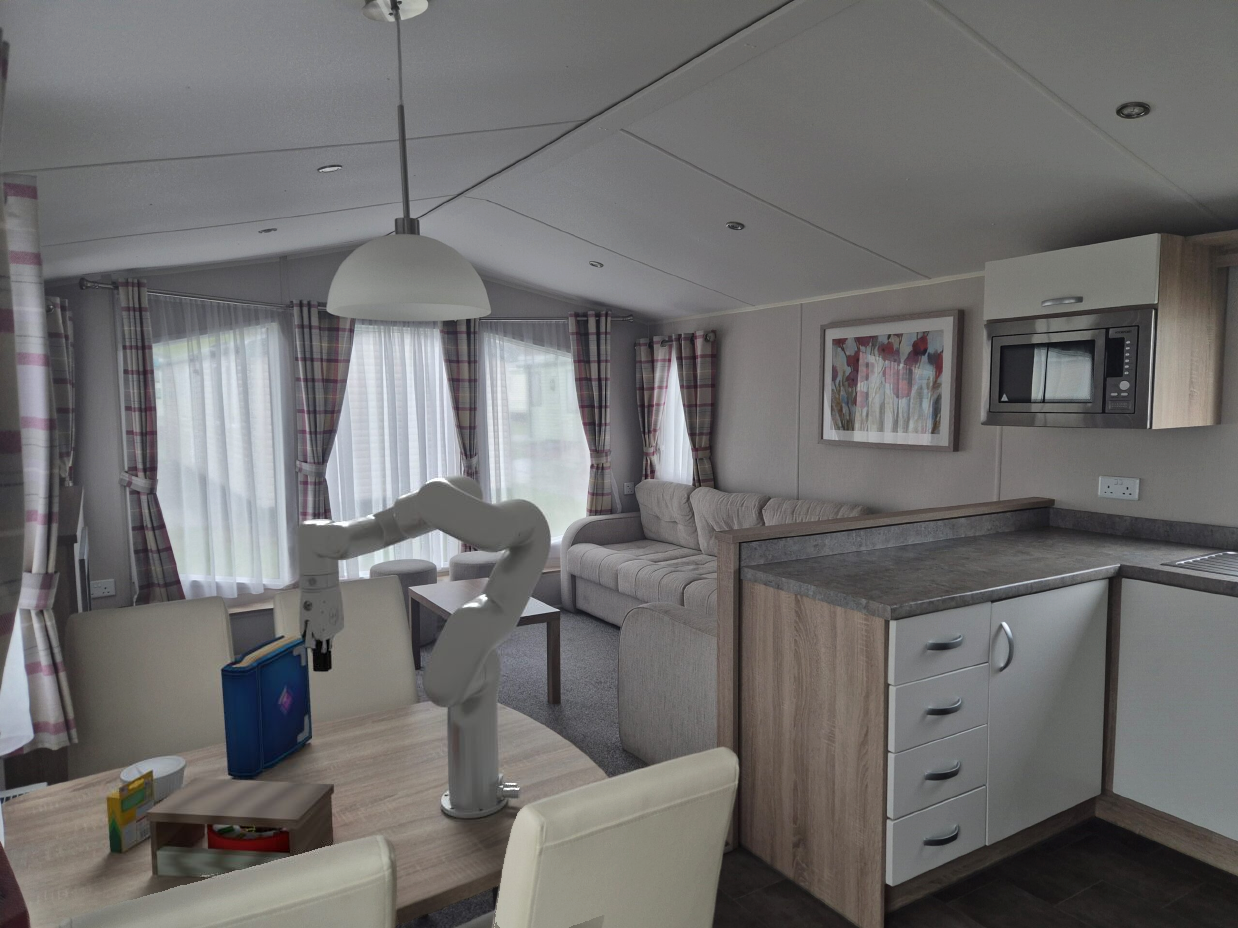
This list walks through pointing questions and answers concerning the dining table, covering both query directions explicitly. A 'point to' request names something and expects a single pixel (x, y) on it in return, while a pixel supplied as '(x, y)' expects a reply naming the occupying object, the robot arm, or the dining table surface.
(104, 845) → the dining table surface
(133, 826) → the crayon box
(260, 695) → the book
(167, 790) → the ramekin
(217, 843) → the toy clock
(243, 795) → the walnut overhang
